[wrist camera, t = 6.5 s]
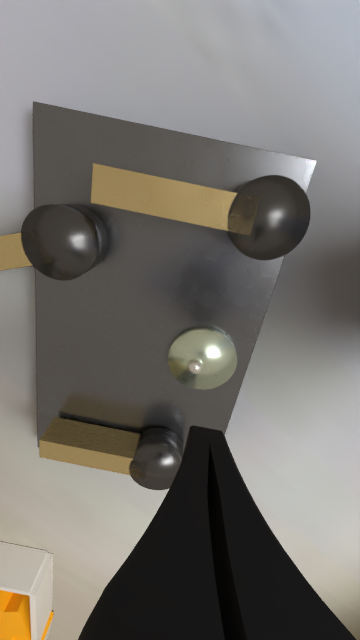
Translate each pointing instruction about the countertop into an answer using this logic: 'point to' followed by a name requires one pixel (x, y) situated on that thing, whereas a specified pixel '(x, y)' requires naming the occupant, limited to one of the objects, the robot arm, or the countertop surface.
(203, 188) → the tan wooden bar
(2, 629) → the pipe clamp
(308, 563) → the countertop surface
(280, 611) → the robot arm
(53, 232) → the near knob
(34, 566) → the parts bin frame
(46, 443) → the far knob
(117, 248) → the levelling plate
